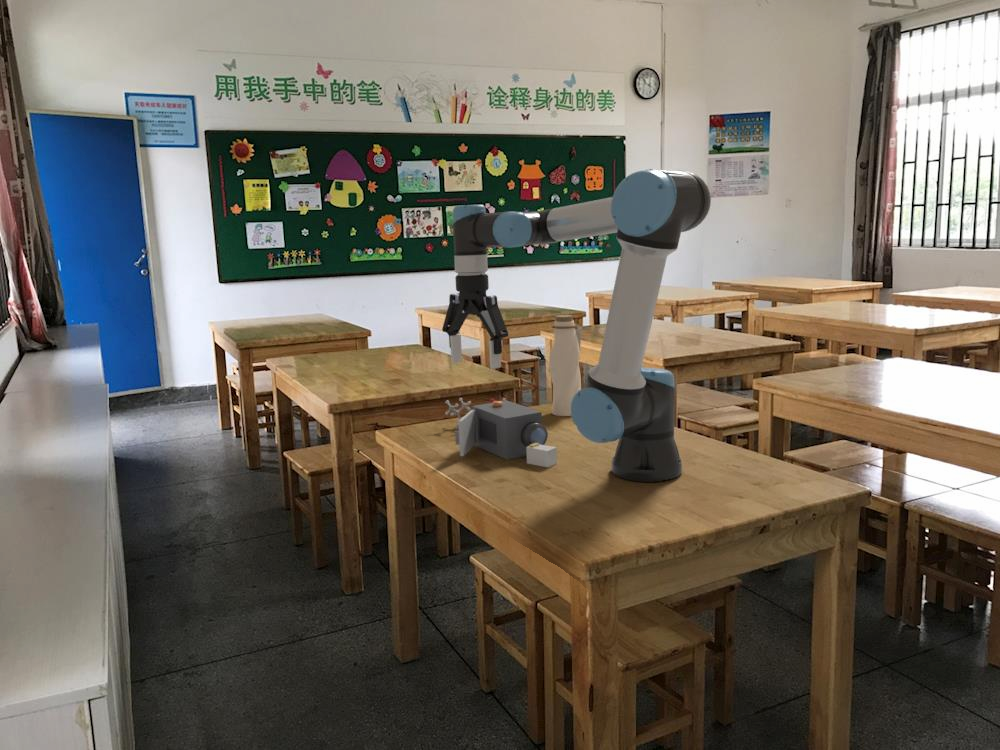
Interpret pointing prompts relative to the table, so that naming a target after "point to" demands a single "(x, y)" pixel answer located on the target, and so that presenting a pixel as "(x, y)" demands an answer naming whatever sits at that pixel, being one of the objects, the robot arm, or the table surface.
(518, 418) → the grey box
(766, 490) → the table surface
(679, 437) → the table surface
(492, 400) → the molecular model
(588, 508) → the table surface
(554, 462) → the block
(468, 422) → the side door
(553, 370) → the water bottle
